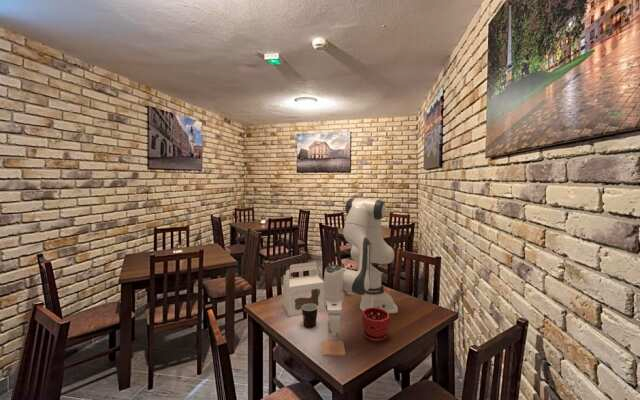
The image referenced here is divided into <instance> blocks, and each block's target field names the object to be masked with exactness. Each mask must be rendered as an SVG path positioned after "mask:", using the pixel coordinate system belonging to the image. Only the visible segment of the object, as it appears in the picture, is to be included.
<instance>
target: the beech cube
mask: <svg viewBox="0 0 640 400" xmlns="http://www.w3.org/2000/svg"><path fill="white" fill-rule="evenodd" d="M327 337H328V338H340V330H339V331H338V332H336V335H335V336H333V335H332V332H331V330H330V323H329V320H327Z"/></svg>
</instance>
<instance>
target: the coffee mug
mask: <svg viewBox="0 0 640 400" xmlns="http://www.w3.org/2000/svg"><path fill="white" fill-rule="evenodd" d="M317 309H318V306H317V305H315V304H305V305H303V306H302V314H301V315H302V320H303V321H302V322H303V327H304V328H305V329H313V328H315V327H316V324H317V316H318V312H317Z"/></svg>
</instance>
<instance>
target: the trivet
mask: <svg viewBox="0 0 640 400" xmlns="http://www.w3.org/2000/svg"><path fill="white" fill-rule="evenodd" d="M321 343H322V357H337V356H339V357H342V356H343V357H345V356H346V349H345V343H344V341H343V340H329V341H328V340H326V341H324V340H322V342H321Z"/></svg>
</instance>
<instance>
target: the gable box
mask: <svg viewBox="0 0 640 400" xmlns="http://www.w3.org/2000/svg"><path fill="white" fill-rule="evenodd" d="M321 269H322V268H321V266H318V264H317V262H316V261H312V262H311V261H310V262H302V263H301V262H300V263H294V264H290V265H289V269H287V270H285V275H284V277H283V280H282V281H283V284H282V285H283V288H282V289H283V308H284V310H285V311H286V313H287V316H288V317H294V316H299V315H302V306H303V305H305V304H315V305H317V306H318V309H317V313H318V312H323V311H325V306H324V292H325V289H324V277H323V275H322V271H321ZM306 271H315V274H313V275H305V276H298V277H297V276H296V277H292V276H291V274H292V273H298V272H306ZM299 291H300V292H301V291H304V292H305V291H306V292H307V291H310V292H311V296H310V297H298V298H296V299H295V298H294V294H295V293H296V292H299Z"/></svg>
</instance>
